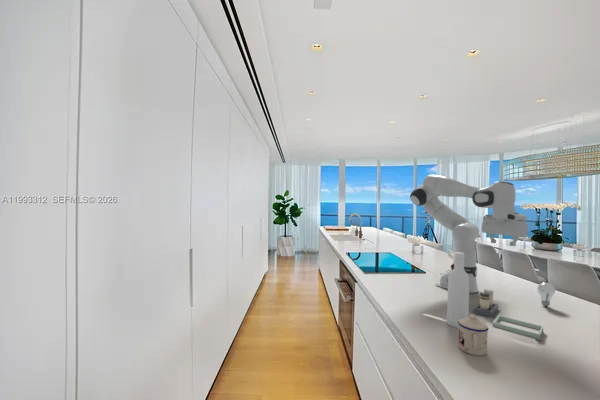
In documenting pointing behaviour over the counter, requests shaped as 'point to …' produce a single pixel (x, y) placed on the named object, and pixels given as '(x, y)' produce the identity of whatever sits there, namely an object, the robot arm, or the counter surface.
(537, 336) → the parts tray
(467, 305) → the bottle
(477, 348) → the teacup with lid
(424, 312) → the counter surface
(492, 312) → the fuse block
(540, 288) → the light bulb
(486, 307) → the fuse
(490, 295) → the fuse
